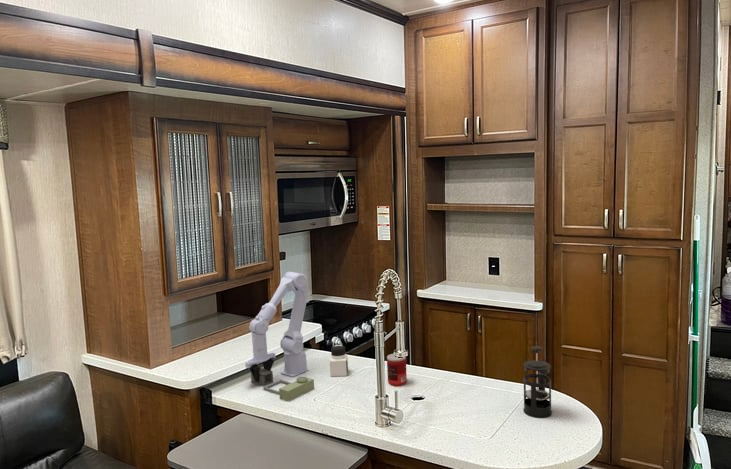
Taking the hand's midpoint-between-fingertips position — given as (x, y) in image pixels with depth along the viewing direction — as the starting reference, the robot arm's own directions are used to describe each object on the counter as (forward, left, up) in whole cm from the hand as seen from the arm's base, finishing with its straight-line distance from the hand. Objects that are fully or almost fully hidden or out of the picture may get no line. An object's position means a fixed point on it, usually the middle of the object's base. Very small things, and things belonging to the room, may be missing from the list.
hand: (262, 379), depth 219 cm
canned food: (-30, +48, -2) cm, 57 cm away
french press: (-35, +104, -2) cm, 110 cm away
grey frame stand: (0, +15, -1) cm, 15 cm away
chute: (0, 0, -1) cm, 1 cm away
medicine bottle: (-25, +21, -2) cm, 33 cm away
